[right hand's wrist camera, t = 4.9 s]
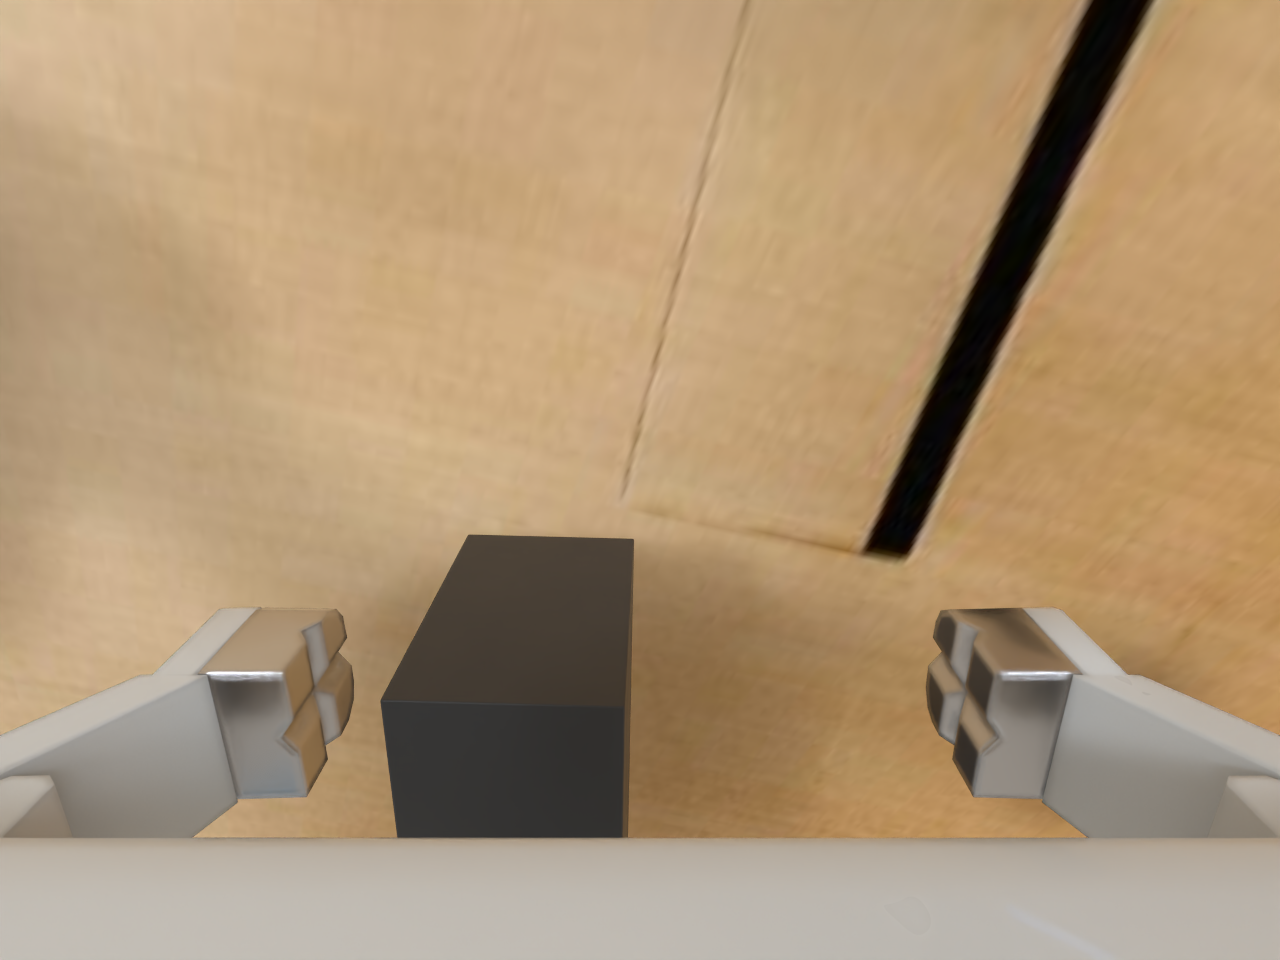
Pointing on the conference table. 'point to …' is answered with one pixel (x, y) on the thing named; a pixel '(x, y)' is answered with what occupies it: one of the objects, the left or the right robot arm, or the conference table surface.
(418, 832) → the box
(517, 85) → the conference table surface
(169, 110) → the conference table surface
